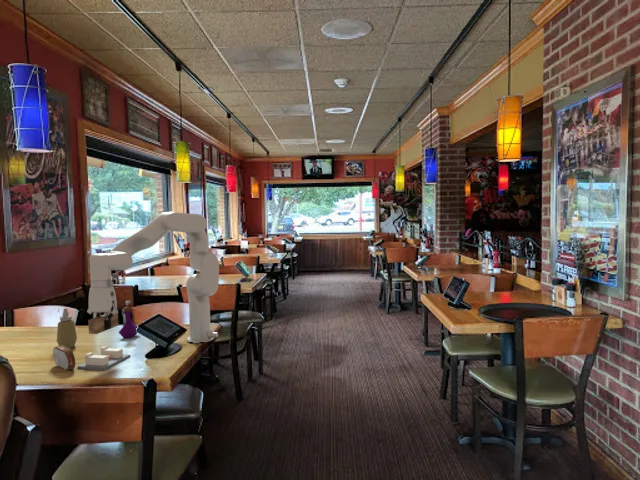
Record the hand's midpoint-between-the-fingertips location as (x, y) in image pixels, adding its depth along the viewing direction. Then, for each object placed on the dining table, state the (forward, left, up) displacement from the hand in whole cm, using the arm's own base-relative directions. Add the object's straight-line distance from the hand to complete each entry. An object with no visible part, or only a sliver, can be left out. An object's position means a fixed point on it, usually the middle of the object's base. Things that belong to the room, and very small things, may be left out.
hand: (103, 328), depth 177 cm
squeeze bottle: (+32, -16, -14) cm, 39 cm away
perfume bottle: (+14, -36, -14) cm, 41 cm away
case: (0, -1, -1) cm, 1 cm away
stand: (0, 0, -14) cm, 14 cm away
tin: (+12, +8, -14) cm, 20 cm away
